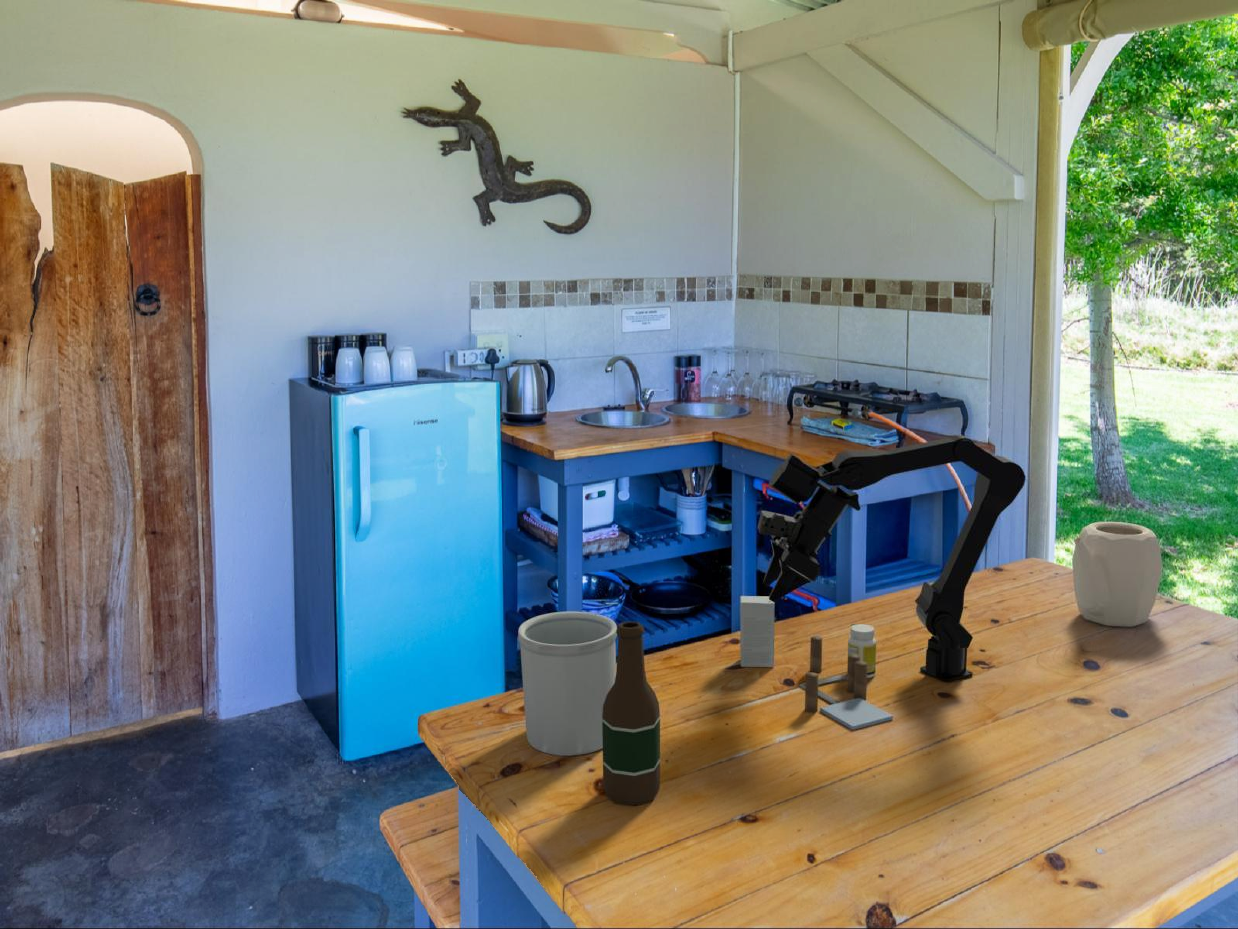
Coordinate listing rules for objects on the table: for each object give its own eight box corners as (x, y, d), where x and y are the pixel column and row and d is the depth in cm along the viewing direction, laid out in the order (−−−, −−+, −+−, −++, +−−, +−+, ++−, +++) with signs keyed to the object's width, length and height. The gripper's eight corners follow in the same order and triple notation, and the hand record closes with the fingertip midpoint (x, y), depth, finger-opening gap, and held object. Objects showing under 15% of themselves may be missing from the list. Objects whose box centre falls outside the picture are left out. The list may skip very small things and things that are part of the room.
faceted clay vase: (1032, 623, 209) (1038, 530, 205) (1109, 598, 223) (1116, 511, 220) (1106, 645, 196) (1114, 547, 192) (1182, 618, 211) (1191, 526, 207)
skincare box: (773, 659, 191) (774, 596, 189) (774, 668, 187) (775, 603, 185) (739, 658, 192) (740, 595, 190) (739, 667, 188) (740, 602, 185)
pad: (859, 701, 172) (859, 697, 172) (892, 719, 165) (893, 715, 165) (820, 711, 169) (820, 707, 169) (852, 730, 162) (852, 726, 162)
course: (823, 666, 188) (824, 634, 186) (880, 695, 174) (881, 661, 173) (755, 681, 181) (756, 648, 180) (810, 713, 168) (810, 678, 167)
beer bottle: (601, 780, 147) (598, 616, 142) (656, 778, 147) (656, 613, 143) (605, 809, 139) (602, 635, 135) (663, 805, 140) (663, 633, 135)
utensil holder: (545, 767, 151) (542, 651, 148) (506, 728, 164) (503, 620, 161) (635, 745, 158) (634, 633, 154) (592, 709, 171) (590, 605, 167)
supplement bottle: (876, 670, 185) (878, 625, 184) (873, 680, 181) (875, 634, 179) (848, 667, 187) (850, 622, 185) (845, 677, 182) (846, 631, 181)
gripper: (772, 482, 188) (724, 553, 190) (785, 504, 169) (732, 584, 172) (825, 514, 188) (776, 585, 191) (843, 540, 170) (790, 619, 173)
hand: (768, 592), depth 182 cm, fingers open, 9 cm apart
